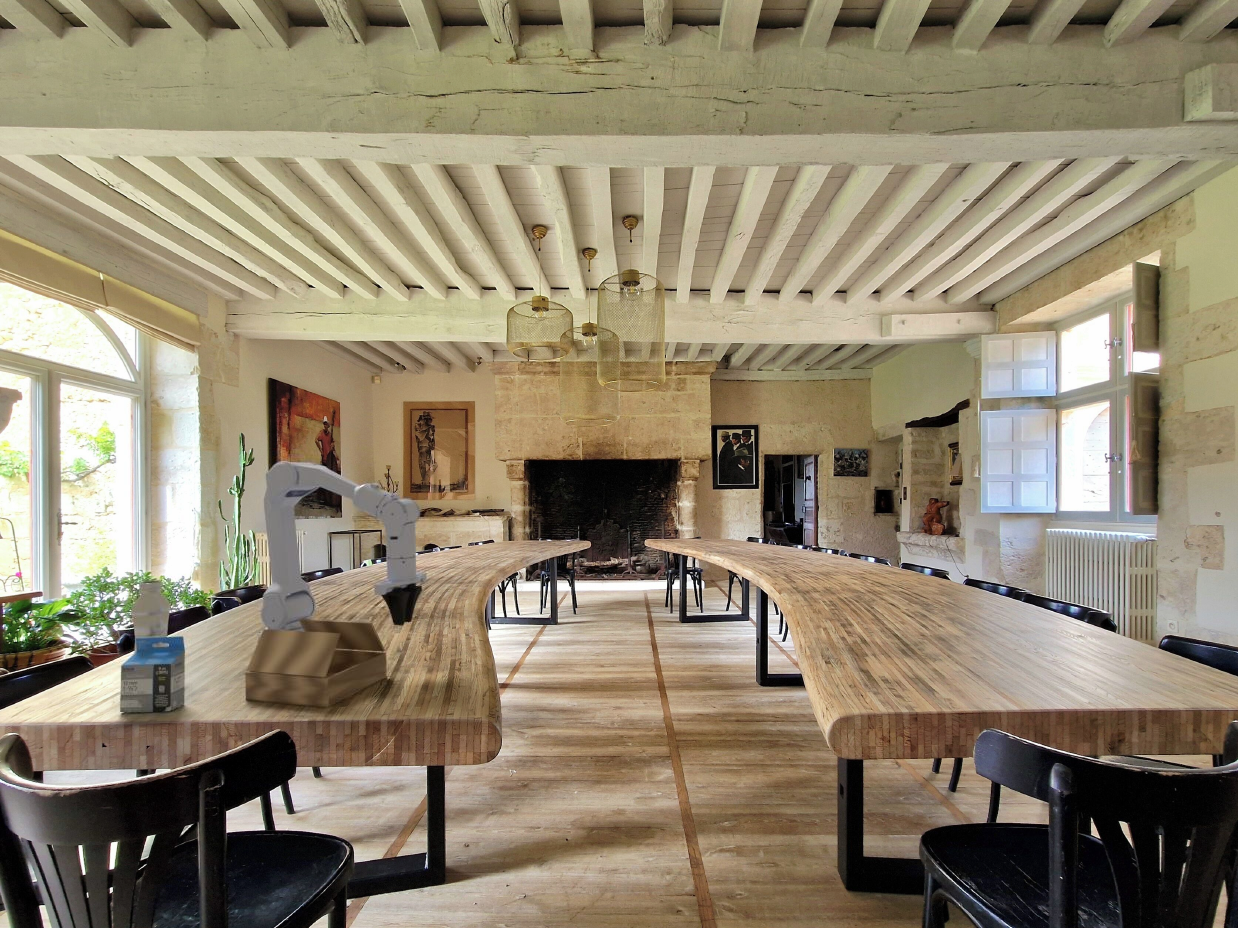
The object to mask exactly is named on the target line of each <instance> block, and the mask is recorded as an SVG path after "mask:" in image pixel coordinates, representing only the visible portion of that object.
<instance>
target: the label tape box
mask: <svg viewBox="0 0 1238 928" xmlns="http://www.w3.org/2000/svg"><path fill="white" fill-rule="evenodd" d="M184 640H185V639H184V636H183V635H182V636H179V635H178V636H167V637H152V638H136V649H137V651H136V652H135V653H134V652H133V654H132V655H131V656H130V657H129V658H128V659H127V660H126V661H124V662H123V663H122V664H121V666H120V695H119V696H120V700H119V701H120V702H119V705H120V706H119V713H120V712H141V713H154V712H153V711H162V712H172V711H175V710H176V708H177V709H179V708H180V707H179V706H181V707H182V706H184V705H185V696H186V695H185V692H186V691H185V690H186V689H185V688H186V687H185V685H186V684H185V681H186V677H185V676H186V675H185V671H186V670H185V669H186V666H185V662H186V661H185V660H186V657H185V656H186V648H185V641H184ZM159 642H162V643H163V644H164V643H167V644H168V646H167V647H153V644H158V643H159ZM178 707H179V708H178ZM174 709H175V710H174ZM171 710H172V711H171Z"/></svg>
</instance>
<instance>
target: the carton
mask: <svg viewBox="0 0 1238 928" xmlns="http://www.w3.org/2000/svg"><path fill="white" fill-rule="evenodd" d="M387 665H388V664H387V652H385V651H384V652H380V651H365V650H349V649H335V652H334V654H333V657H332V660H331V663H330V666H329V669H328V672H327V675H326V677H315V676H302V675H289V674H277V673H264V672H252V671H246V672H245V678H244V679H245V680H244V682H245V701H250V702H251V701H253V702H260V703H261V702H263V703H270V704H271V703H274V704H282V705H292V706H305V707H313V708H315V707H316V708H323V709H324V708H326V709H328V708H330V707H333V705H336V704H337V703H340V702H342V701H343V700H346V699H348V698H350V697H352V696H353V695H355V694H358V693H359V692H361V691H364V690H365V689H367V688H369V687H372V686H373V685H375V684H377V683H379V682H381V681H384V680H385V679H387V678H388V676H387V675H388V674H387V673H388V672H387V670H388V669H387Z"/></svg>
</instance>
